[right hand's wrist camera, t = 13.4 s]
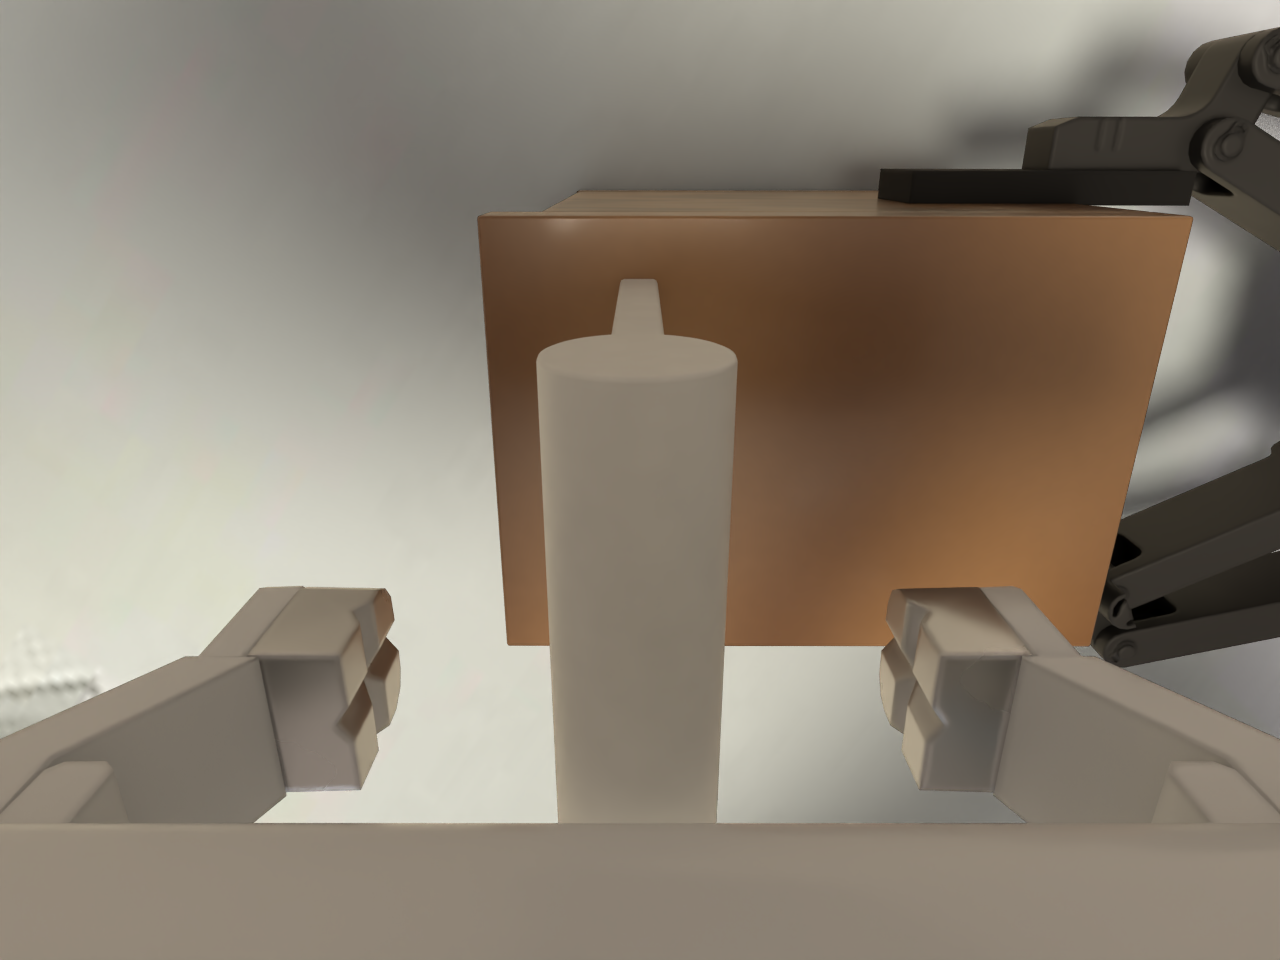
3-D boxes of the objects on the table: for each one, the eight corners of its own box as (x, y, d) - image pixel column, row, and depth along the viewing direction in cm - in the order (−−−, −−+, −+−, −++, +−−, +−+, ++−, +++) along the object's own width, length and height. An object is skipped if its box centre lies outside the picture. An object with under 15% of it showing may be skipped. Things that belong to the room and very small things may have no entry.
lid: (515, 617, 19) (413, 984, 11) (488, 211, 16) (309, 274, 7) (1064, 618, 19) (1401, 986, 11) (1155, 212, 16) (1757, 274, 7)
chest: (585, 457, 30) (556, 617, 19) (578, 190, 26) (538, 211, 16) (916, 457, 30) (1063, 617, 19) (952, 190, 26) (1154, 211, 16)
